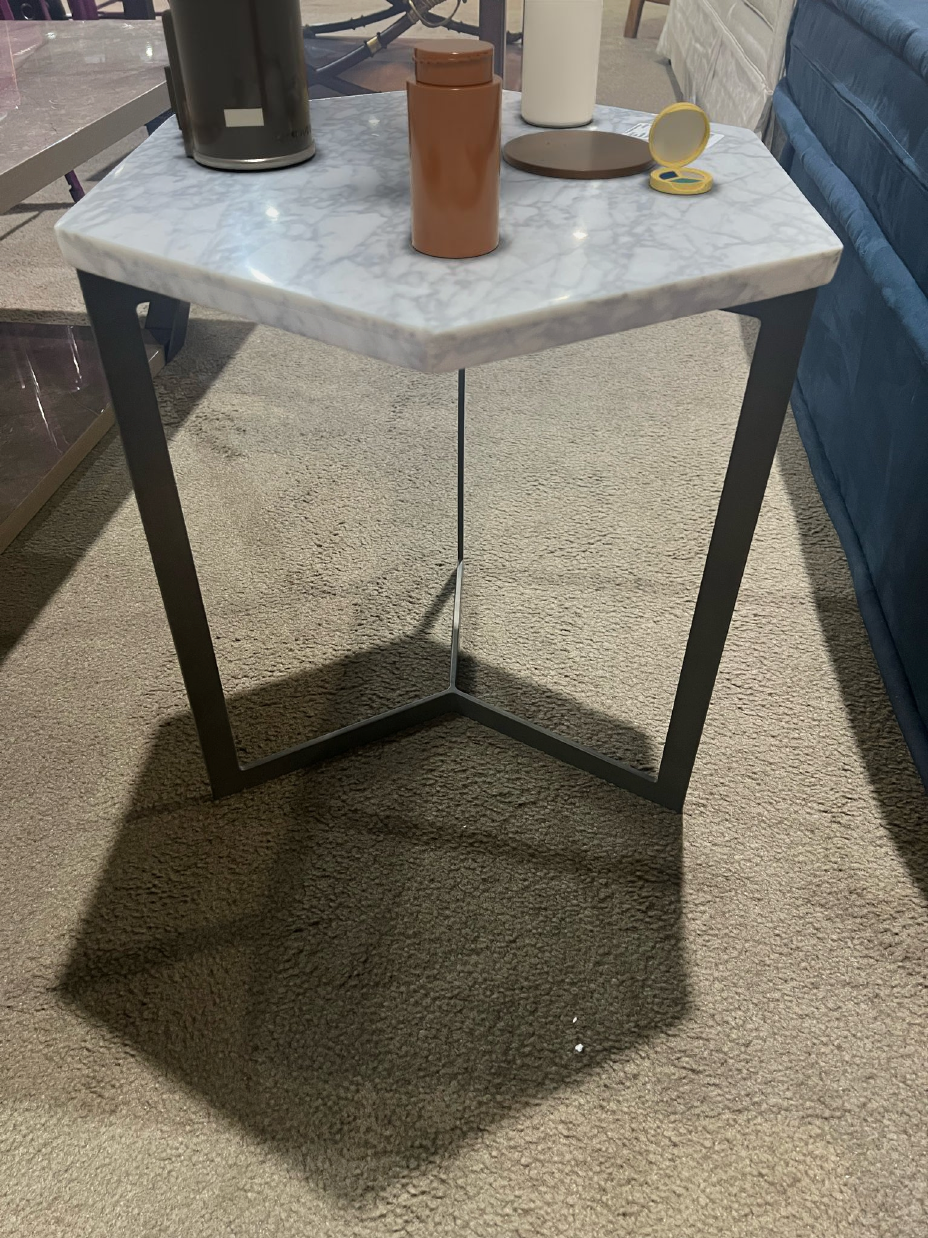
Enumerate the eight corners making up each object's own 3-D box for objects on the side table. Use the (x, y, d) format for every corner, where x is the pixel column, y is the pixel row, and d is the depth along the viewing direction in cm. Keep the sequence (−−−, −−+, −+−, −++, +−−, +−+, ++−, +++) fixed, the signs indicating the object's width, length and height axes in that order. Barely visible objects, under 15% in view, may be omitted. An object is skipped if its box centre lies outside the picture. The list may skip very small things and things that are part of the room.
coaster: (475, 163, 71) (475, 155, 71) (546, 130, 79) (546, 122, 79) (618, 187, 66) (619, 178, 66) (679, 149, 74) (680, 141, 74)
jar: (395, 247, 57) (385, 47, 50) (441, 223, 60) (438, 33, 54) (470, 264, 55) (471, 57, 48) (514, 237, 58) (520, 42, 51)
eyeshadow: (657, 194, 65) (667, 116, 62) (641, 174, 69) (650, 100, 66) (718, 193, 65) (731, 115, 62) (699, 173, 69) (711, 99, 66)
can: (508, 123, 81) (513, -45, 73) (538, 108, 85) (546, -52, 78) (576, 131, 79) (589, -41, 71) (604, 115, 83) (619, -49, 75)
